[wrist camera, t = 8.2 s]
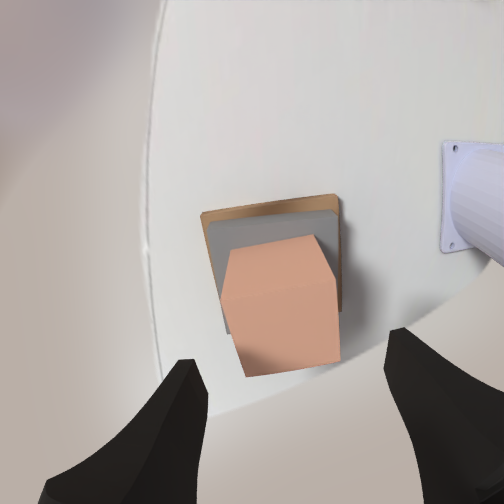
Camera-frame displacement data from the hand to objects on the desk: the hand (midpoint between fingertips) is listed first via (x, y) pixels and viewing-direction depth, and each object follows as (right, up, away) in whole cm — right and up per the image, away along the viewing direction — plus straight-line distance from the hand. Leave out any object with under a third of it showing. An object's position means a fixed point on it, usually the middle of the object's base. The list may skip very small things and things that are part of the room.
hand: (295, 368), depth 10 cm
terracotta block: (0, +3, +7) cm, 7 cm away
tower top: (0, +3, +8) cm, 9 cm away
